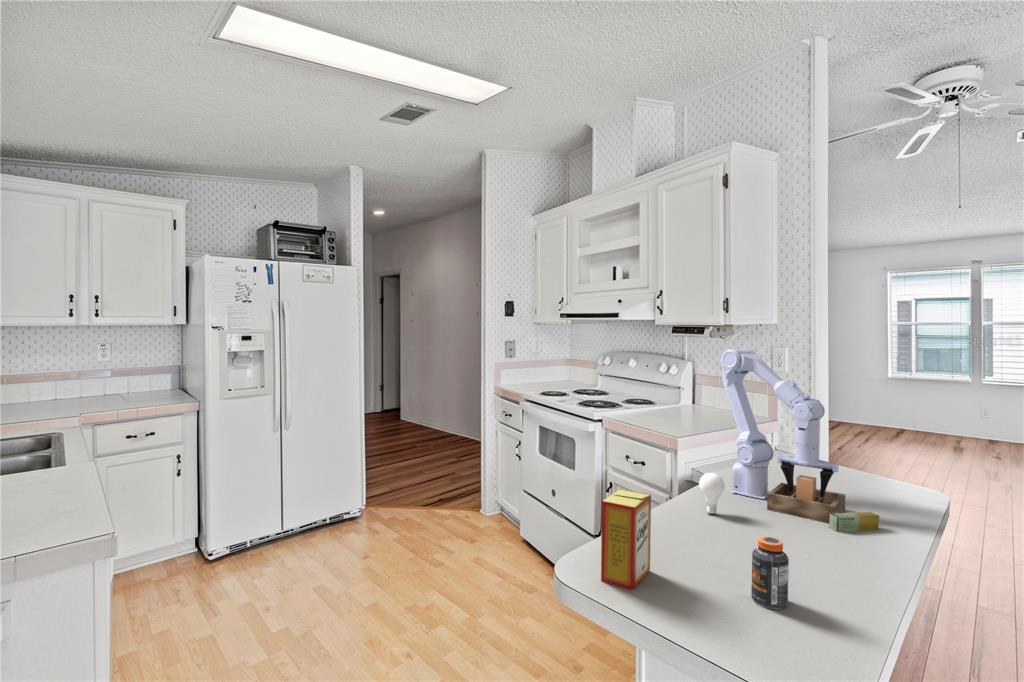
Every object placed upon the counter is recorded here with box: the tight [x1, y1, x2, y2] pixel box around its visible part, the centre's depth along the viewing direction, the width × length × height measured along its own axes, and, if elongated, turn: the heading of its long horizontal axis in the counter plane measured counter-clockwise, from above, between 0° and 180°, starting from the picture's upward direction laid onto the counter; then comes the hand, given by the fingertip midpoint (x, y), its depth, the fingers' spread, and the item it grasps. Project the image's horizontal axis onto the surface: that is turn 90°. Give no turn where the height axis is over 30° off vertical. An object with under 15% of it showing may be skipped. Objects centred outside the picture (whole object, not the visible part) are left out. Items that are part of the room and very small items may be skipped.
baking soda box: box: [600, 488, 652, 591], centre depth 103 cm, size 10×6×16 cm
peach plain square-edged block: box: [795, 474, 817, 502], centre depth 142 cm, size 4×4×8 cm
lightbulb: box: [698, 472, 726, 515], centre depth 139 cm, size 6×6×11 cm
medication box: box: [828, 511, 880, 533], centre depth 129 cm, size 12×3×4 cm, turn 99°
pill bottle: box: [750, 535, 790, 610], centre depth 94 cm, size 6×6×11 cm
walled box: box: [766, 482, 846, 524], centre depth 142 cm, size 16×14×4 cm
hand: (806, 493), depth 142 cm, fingers open, 7 cm apart
